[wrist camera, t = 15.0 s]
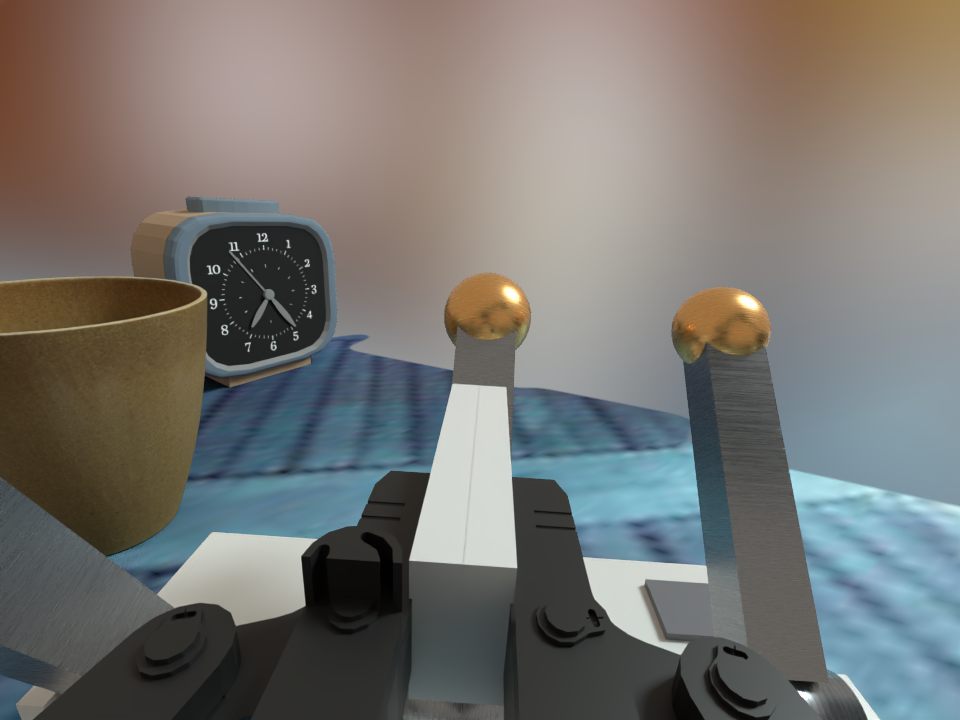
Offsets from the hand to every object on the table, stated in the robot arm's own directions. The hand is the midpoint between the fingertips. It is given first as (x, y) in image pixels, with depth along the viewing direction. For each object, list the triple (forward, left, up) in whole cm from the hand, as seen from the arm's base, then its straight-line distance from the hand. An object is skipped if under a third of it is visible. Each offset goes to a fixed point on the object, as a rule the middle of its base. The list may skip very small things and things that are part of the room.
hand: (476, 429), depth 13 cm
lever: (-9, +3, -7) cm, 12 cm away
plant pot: (+25, -13, -16) cm, 33 cm away
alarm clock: (+31, -44, -16) cm, 56 cm away
